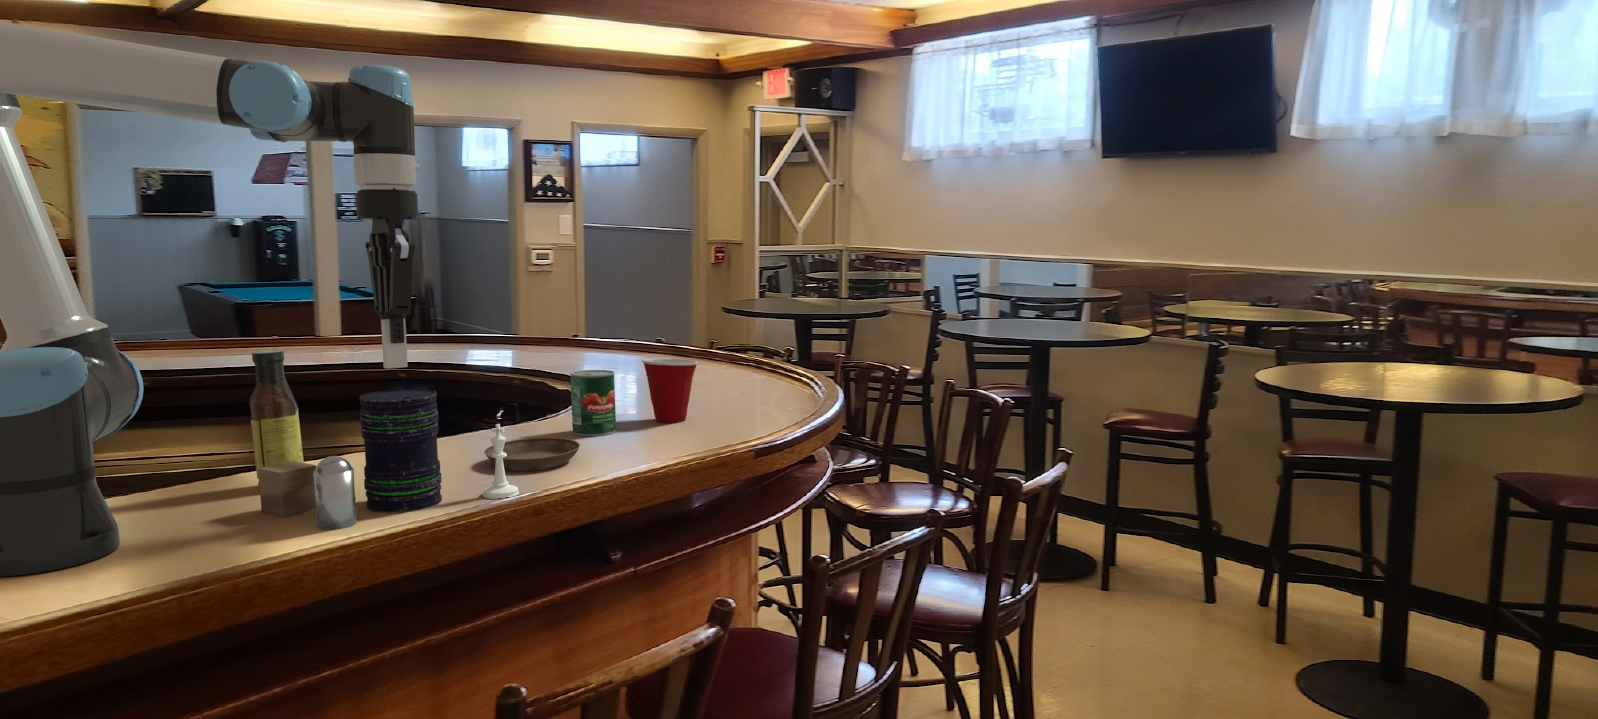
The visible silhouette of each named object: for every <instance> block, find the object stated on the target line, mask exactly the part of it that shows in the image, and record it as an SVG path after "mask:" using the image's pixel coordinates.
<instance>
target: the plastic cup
mask: <svg viewBox="0 0 1598 719" xmlns="http://www.w3.org/2000/svg"><path fill="white" fill-rule="evenodd" d="M641 362H642V363H643V366H644V370H645V373H646V374H645V375H646V379H647V384H648V389H649V394H650V400H651V405H652V409H653V414H654V418H655V421H656V422H658V423H663V424H664V423H665V424H674V423H681V422H684V421H686V420H687V419H686V418H687V416H688V407H689V403H690V397H691V391H692V384H693V378H694V375H695V371H696V367H697V365H698V364H699V361H698V360H691V359H682V358H681V359H680V358H644V359H641Z"/></svg>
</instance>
